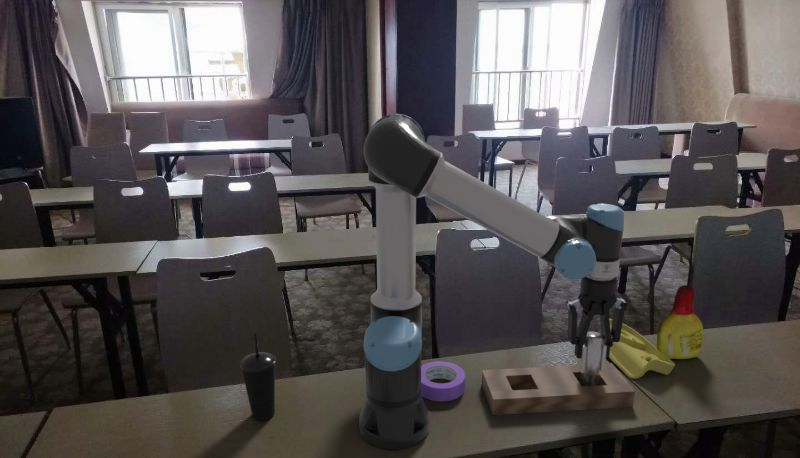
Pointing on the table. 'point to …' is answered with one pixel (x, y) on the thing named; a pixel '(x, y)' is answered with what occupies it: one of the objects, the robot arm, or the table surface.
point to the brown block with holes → (553, 390)
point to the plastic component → (638, 354)
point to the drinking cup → (260, 382)
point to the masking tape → (447, 389)
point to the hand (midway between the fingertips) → (590, 368)
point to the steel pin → (592, 359)
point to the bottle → (681, 328)
